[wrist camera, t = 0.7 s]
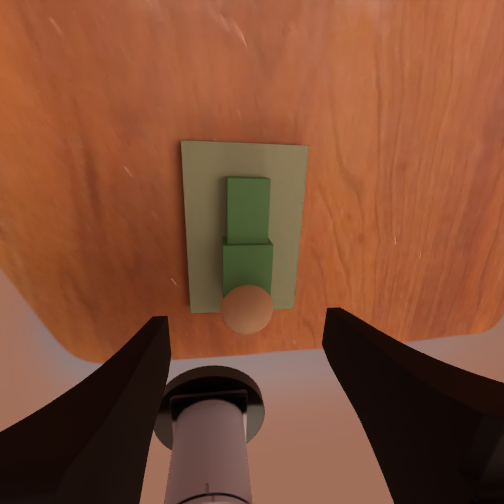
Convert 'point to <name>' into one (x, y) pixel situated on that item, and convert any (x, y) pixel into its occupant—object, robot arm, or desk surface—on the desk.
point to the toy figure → (247, 255)
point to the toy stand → (214, 213)
